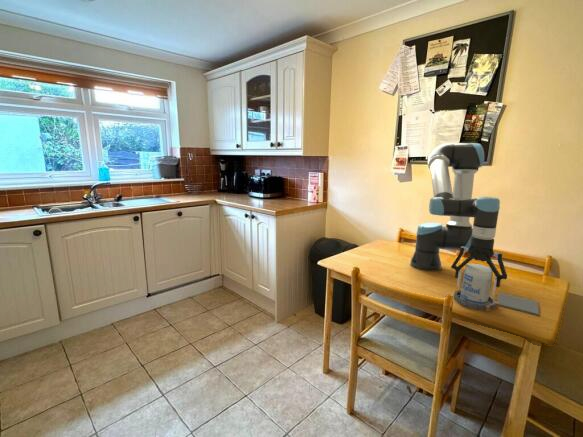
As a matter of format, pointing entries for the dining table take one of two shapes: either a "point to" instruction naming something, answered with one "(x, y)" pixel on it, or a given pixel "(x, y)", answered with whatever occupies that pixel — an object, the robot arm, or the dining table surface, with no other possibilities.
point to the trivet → (518, 303)
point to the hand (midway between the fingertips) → (475, 289)
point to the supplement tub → (476, 284)
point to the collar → (475, 306)
